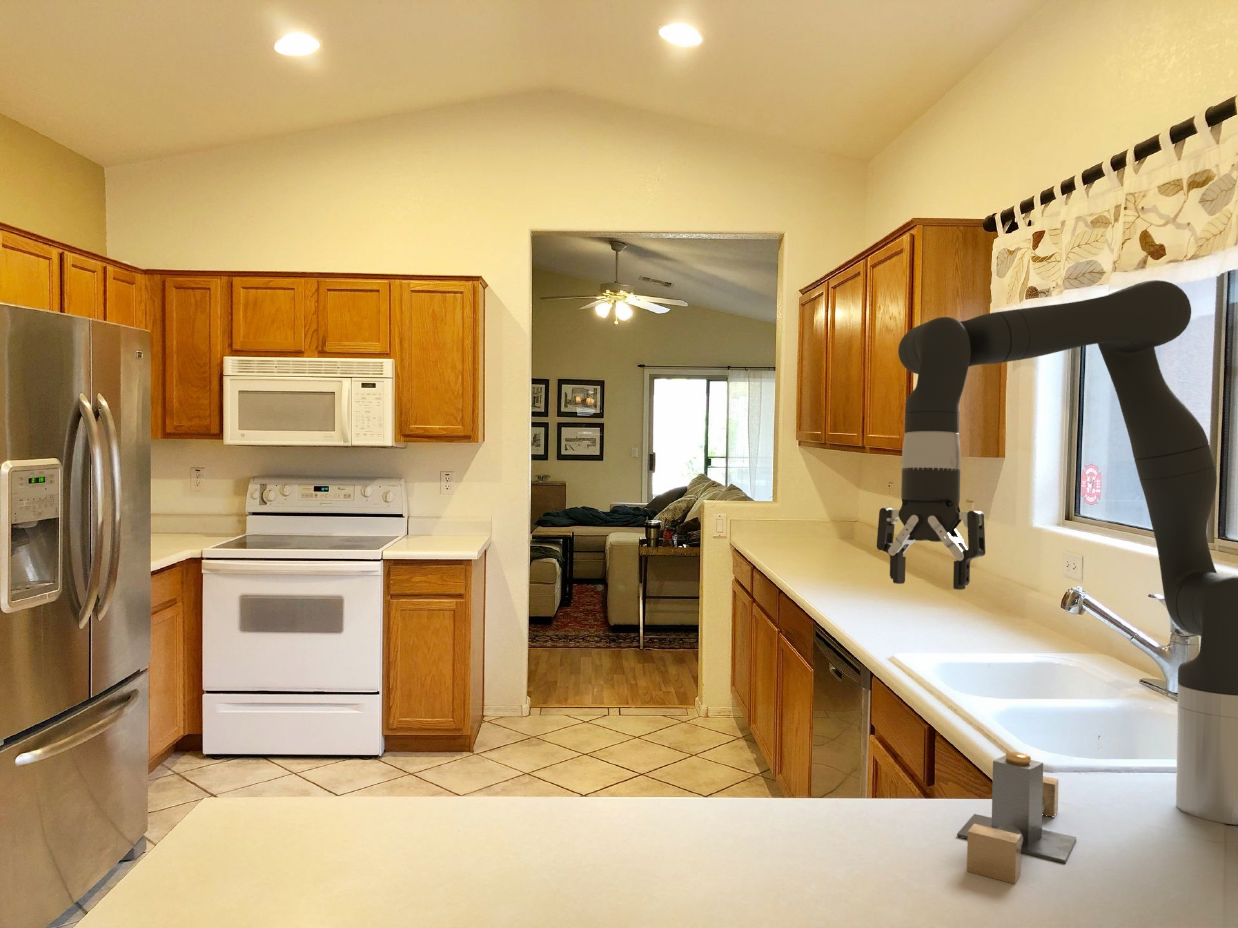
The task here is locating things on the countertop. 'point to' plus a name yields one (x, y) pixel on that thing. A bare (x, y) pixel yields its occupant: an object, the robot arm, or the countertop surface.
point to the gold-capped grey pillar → (1018, 794)
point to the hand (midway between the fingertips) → (928, 586)
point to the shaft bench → (1013, 842)
